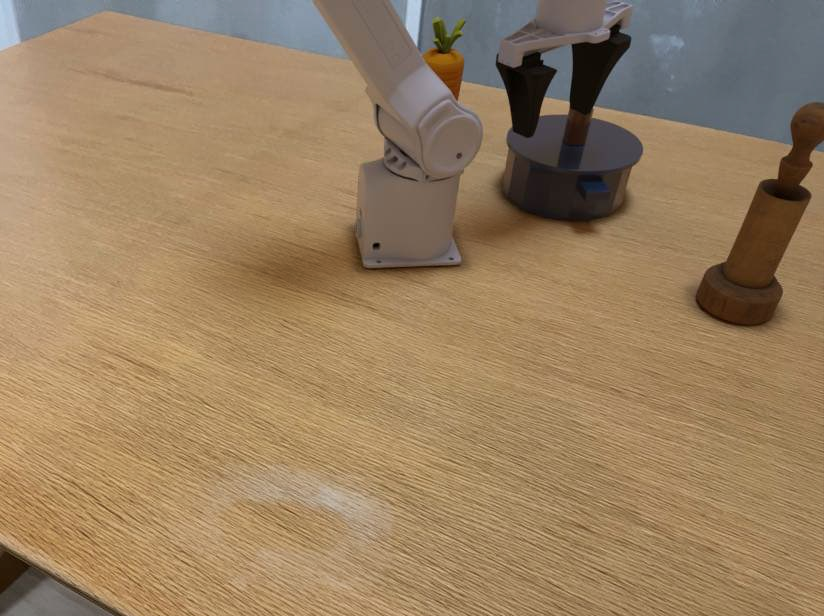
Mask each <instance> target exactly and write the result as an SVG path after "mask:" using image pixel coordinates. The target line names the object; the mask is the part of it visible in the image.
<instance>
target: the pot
mask: <svg viewBox="0 0 824 616" xmlns="http://www.w3.org/2000/svg"><path fill="white" fill-rule="evenodd" d="M632 168H633V167H631V168H629V169H627V170H624V171H621V172H617V173H613V174H606V175H572V174H564V173H558V172H554V171H549V170H546V169H542V168H539V167H536V166H534V165H531V164H529V163H527V162H525V161H523V160H521V159H520V158H518V157H517V156H516V155H514V154H513V153H512V152H511V151H510V149H509V148H508V150H507V156H506V161H505V167H504V172H503V178H502V182H501V183H502V184H501V186H502V192H503V195H504V196H505V197H506V199H507V200H508V201H509V202H510V203H511V204H513V205H514V206H516V207H517V208H518V209H520V210H523V211H525V212H527V213H529V214H532V215H535V216H538V217H542V218H545V219H549V220H550V219H551V220H558V221H566V222H583V221H593V220H598V219H601V218H604V217H608V216H609V215H612V214H613V213H614V212H615V211H617V210H618V209H619V208H620V206H621V204H622V202H623V201H624V197H625V193H626V189H627V186H628V183H629V180H630V175H631V172H632Z"/></svg>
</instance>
